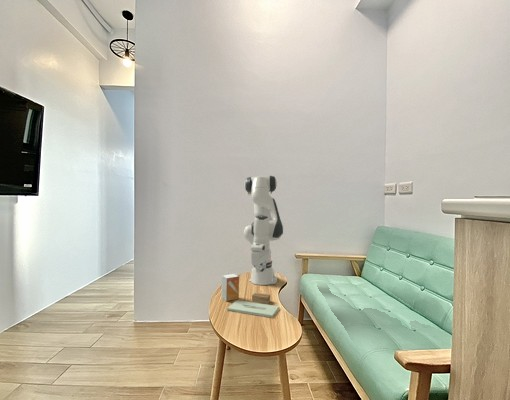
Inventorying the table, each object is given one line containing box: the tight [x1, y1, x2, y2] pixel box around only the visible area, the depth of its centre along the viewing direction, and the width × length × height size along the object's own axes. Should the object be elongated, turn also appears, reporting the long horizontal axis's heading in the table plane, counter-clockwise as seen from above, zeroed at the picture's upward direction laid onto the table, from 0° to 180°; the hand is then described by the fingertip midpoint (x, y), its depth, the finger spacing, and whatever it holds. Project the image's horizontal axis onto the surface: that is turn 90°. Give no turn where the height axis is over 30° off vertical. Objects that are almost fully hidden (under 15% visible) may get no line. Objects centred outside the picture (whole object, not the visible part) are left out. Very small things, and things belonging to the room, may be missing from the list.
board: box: [227, 299, 280, 318], centre depth 152 cm, size 12×24×1 cm, turn 69°
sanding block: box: [251, 292, 271, 305], centre depth 163 cm, size 5×9×4 cm, turn 71°
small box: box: [221, 273, 240, 302], centre depth 167 cm, size 8×6×13 cm
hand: (261, 270), depth 162 cm, fingers open, 8 cm apart
